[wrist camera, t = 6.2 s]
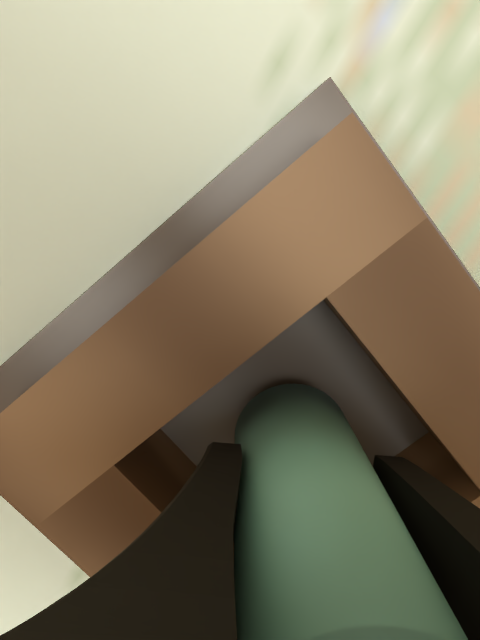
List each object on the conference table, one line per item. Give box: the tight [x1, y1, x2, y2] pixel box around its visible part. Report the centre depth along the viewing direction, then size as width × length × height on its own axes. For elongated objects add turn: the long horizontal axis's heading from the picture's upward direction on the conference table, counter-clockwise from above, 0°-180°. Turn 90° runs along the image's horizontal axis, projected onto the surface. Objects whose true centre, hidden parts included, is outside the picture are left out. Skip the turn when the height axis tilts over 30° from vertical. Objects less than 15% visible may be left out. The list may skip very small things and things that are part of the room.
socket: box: [0, 77, 480, 577], centre depth 12 cm, size 13×13×4 cm
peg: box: [234, 384, 468, 640], centre depth 8 cm, size 3×3×7 cm
